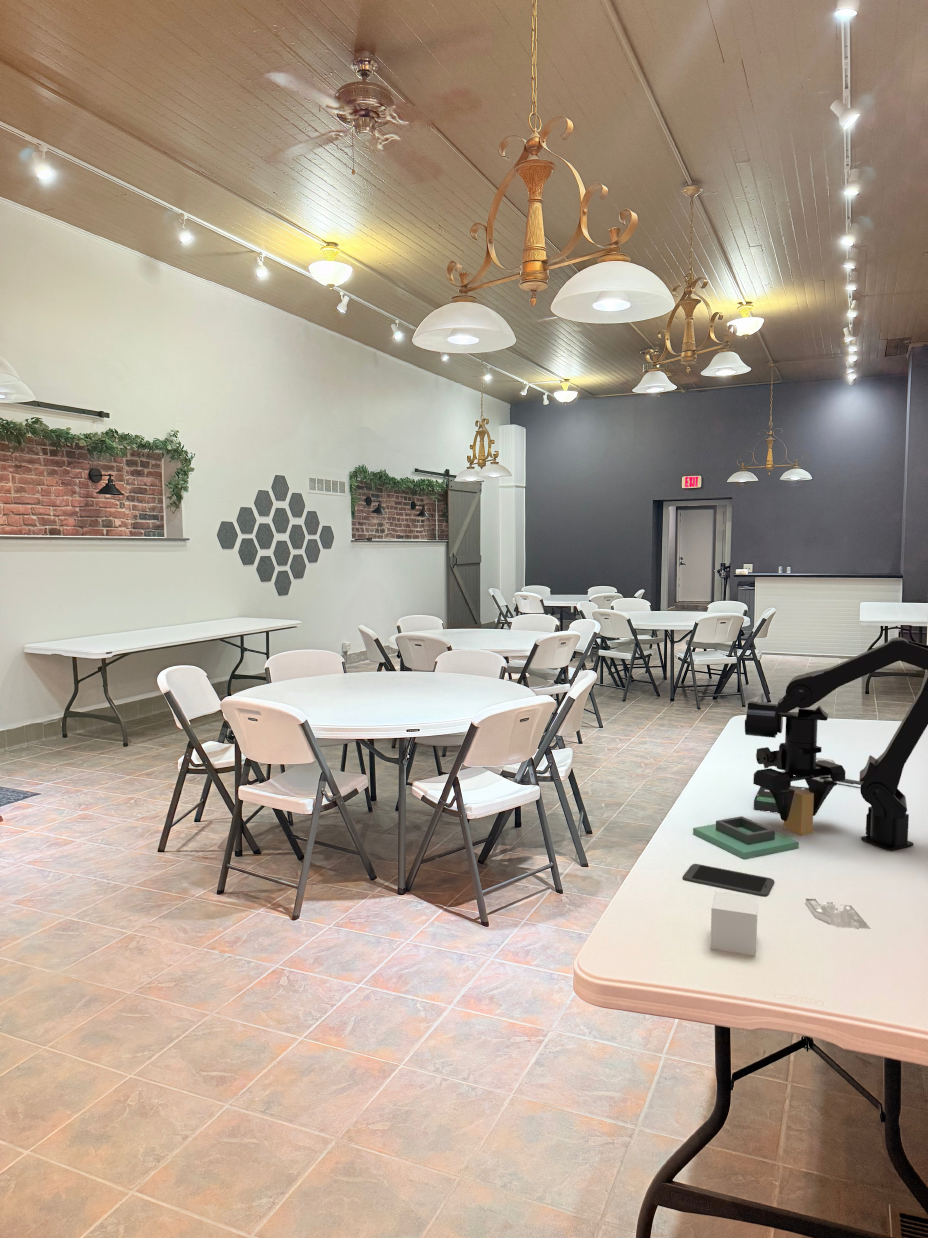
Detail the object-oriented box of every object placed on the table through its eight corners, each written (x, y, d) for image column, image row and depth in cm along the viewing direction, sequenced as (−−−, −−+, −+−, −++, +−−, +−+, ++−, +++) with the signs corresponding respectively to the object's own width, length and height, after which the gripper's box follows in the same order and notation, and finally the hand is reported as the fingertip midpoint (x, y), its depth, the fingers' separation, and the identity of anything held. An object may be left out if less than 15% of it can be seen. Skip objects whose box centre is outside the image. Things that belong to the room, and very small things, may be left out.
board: (798, 848, 151) (799, 832, 151) (744, 859, 146) (744, 843, 146) (744, 824, 164) (745, 810, 164) (693, 834, 159) (693, 819, 158)
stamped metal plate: (805, 907, 128) (805, 898, 128) (850, 909, 127) (850, 900, 127) (822, 930, 120) (822, 921, 120) (870, 932, 120) (871, 923, 120)
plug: (812, 833, 159) (813, 793, 158) (800, 835, 158) (802, 795, 157) (791, 824, 164) (792, 786, 163) (780, 826, 163) (781, 787, 162)
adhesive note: (756, 937, 118) (758, 897, 117) (755, 956, 112) (757, 915, 111) (713, 930, 120) (714, 890, 119) (710, 949, 114) (711, 908, 114)
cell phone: (692, 867, 144) (692, 862, 144) (775, 883, 137) (775, 879, 137) (680, 882, 137) (680, 877, 137) (767, 900, 130) (767, 895, 130)
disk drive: (760, 793, 186) (753, 812, 173) (761, 781, 186) (753, 799, 173) (810, 799, 182) (806, 819, 168) (810, 787, 181) (806, 805, 168)
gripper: (804, 727, 170) (801, 800, 171) (734, 736, 162) (732, 812, 164) (848, 738, 160) (845, 816, 161) (776, 748, 152) (773, 830, 154)
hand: (798, 818), depth 160 cm, fingers open, 7 cm apart
